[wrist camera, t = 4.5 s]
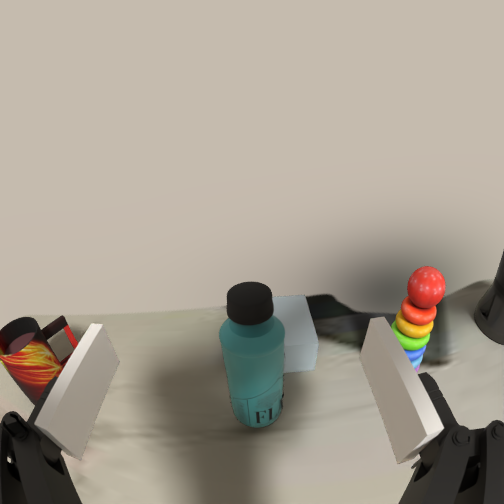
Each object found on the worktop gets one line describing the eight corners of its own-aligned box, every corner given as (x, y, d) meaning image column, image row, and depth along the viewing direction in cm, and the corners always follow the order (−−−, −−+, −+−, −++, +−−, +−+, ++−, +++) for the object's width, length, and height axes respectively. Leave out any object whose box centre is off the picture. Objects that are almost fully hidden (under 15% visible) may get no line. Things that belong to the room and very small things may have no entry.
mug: (88, 358, 39) (61, 304, 34) (56, 415, 27) (15, 362, 22) (53, 350, 40) (27, 300, 35) (22, 399, 27) (-16, 348, 22)
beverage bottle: (254, 442, 27) (243, 327, 19) (223, 410, 32) (196, 289, 23) (292, 414, 31) (305, 291, 22) (260, 387, 36) (254, 265, 27)
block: (314, 370, 38) (318, 342, 35) (235, 375, 38) (231, 348, 35) (302, 321, 49) (304, 294, 46) (237, 325, 49) (234, 298, 46)
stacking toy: (359, 380, 35) (391, 271, 27) (379, 349, 40) (406, 247, 32) (404, 400, 30) (455, 292, 22) (419, 365, 35) (459, 263, 27)
